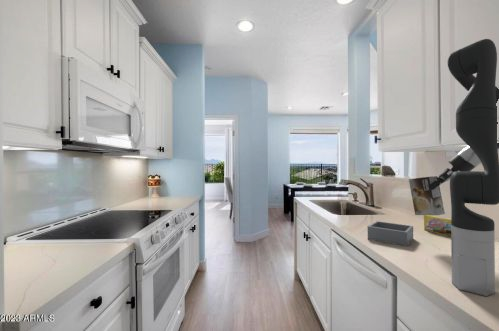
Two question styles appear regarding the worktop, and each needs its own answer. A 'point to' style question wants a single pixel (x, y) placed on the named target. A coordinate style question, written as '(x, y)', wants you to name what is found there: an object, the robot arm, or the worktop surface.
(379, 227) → the bin
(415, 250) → the worktop surface
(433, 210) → the coffee box
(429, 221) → the candy box
